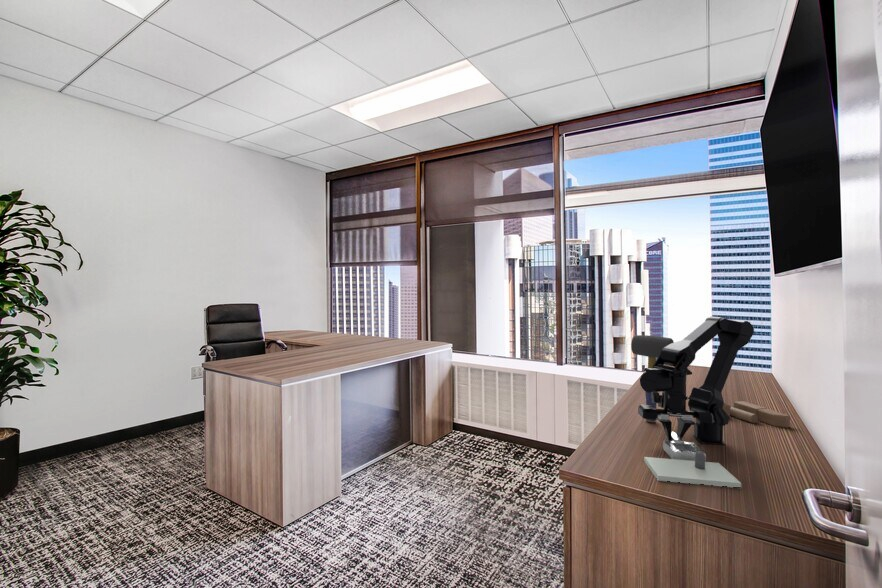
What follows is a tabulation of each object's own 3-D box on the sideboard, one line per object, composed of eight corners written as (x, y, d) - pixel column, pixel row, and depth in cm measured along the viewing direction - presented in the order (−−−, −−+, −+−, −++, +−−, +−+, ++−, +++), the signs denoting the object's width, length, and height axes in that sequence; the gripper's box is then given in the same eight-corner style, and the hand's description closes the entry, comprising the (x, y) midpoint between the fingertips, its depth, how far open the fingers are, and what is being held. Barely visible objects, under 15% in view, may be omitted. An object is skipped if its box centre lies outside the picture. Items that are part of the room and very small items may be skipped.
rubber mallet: (628, 419, 143) (629, 334, 142) (635, 415, 148) (637, 333, 147) (667, 428, 134) (669, 338, 133) (673, 423, 139) (675, 336, 139)
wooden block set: (740, 397, 154) (791, 412, 136) (740, 412, 154) (790, 429, 136) (704, 399, 150) (751, 415, 132) (703, 414, 150) (750, 432, 132)
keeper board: (718, 467, 106) (718, 448, 105) (741, 488, 95) (741, 466, 95) (644, 461, 109) (644, 442, 109) (657, 480, 98) (658, 459, 98)
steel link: (655, 440, 124) (656, 430, 124) (684, 442, 122) (685, 432, 122) (672, 460, 109) (673, 449, 109) (705, 463, 108) (706, 452, 108)
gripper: (697, 384, 126) (696, 434, 126) (633, 381, 129) (632, 430, 130) (714, 394, 115) (713, 449, 115) (643, 390, 118) (643, 443, 119)
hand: (673, 442), depth 120 cm, fingers closed on steel link, 2 cm apart
